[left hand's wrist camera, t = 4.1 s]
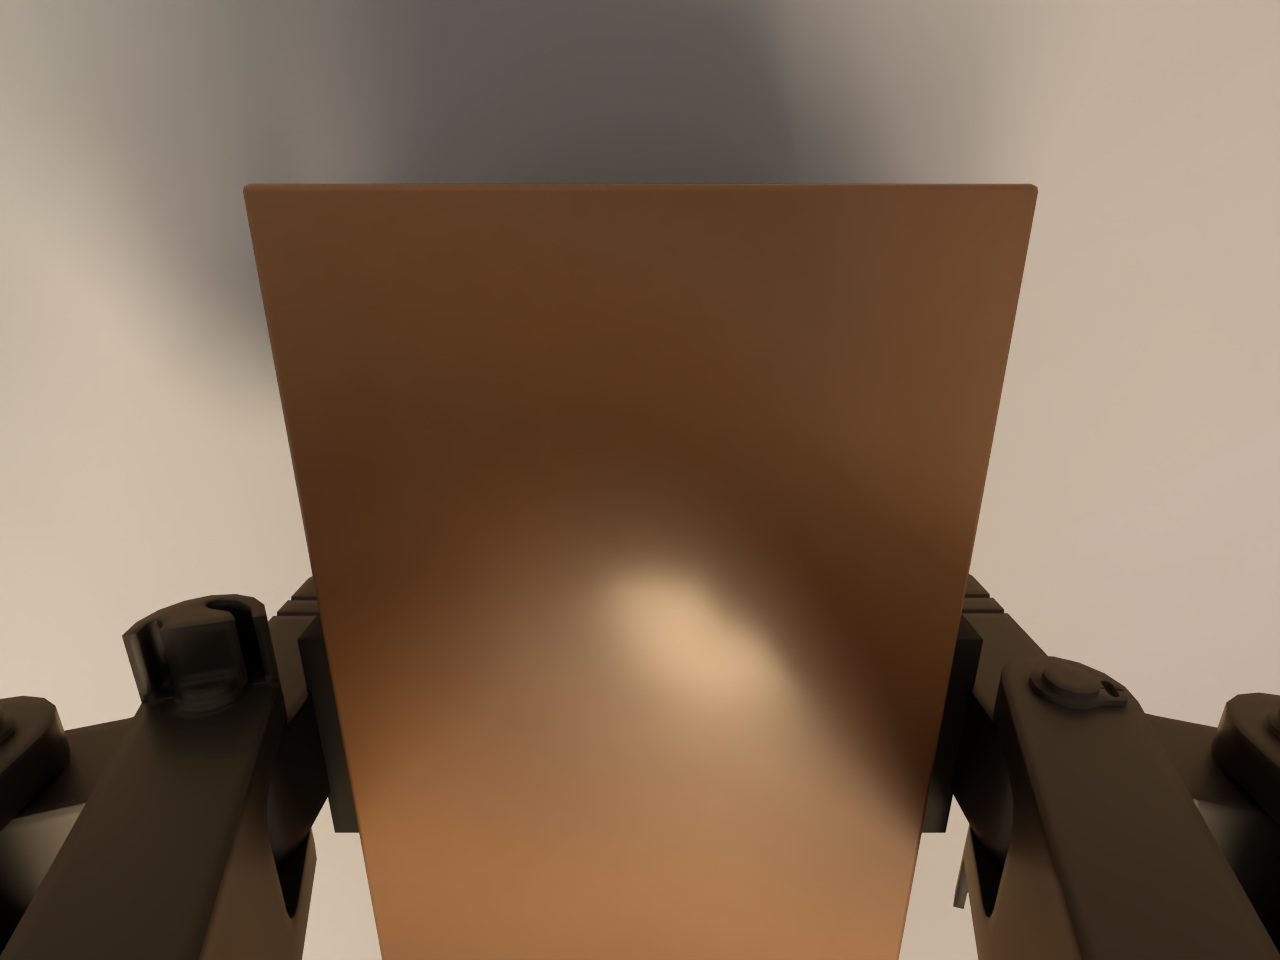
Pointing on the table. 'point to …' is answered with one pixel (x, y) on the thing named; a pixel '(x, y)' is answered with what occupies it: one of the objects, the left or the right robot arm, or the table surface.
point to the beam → (640, 544)
